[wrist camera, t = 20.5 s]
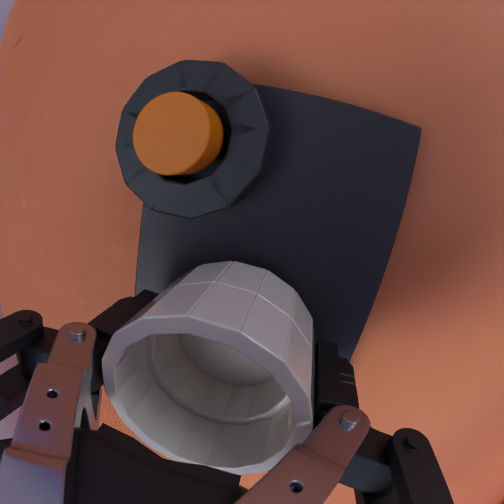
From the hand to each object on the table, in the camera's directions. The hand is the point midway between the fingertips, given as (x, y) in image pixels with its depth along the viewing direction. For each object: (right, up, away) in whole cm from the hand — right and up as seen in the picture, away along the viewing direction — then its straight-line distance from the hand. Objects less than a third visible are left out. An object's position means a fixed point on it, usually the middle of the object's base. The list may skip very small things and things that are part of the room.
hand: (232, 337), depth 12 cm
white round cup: (0, 0, +1) cm, 1 cm away
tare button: (-1, +7, -2) cm, 8 cm away
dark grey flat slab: (+1, +3, +2) cm, 4 cm away
